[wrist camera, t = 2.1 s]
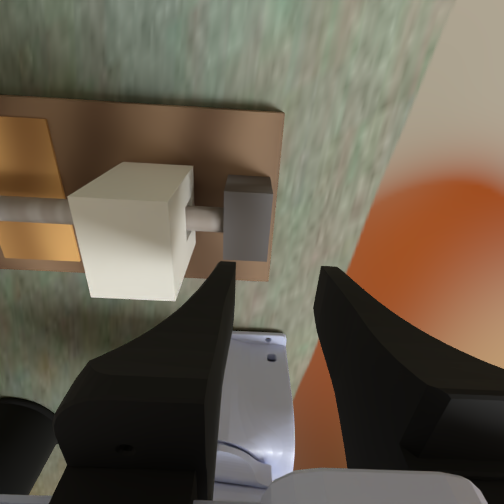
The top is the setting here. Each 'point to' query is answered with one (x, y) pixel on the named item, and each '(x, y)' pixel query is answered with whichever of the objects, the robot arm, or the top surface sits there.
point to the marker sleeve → (135, 230)
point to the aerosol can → (23, 444)
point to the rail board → (140, 151)
